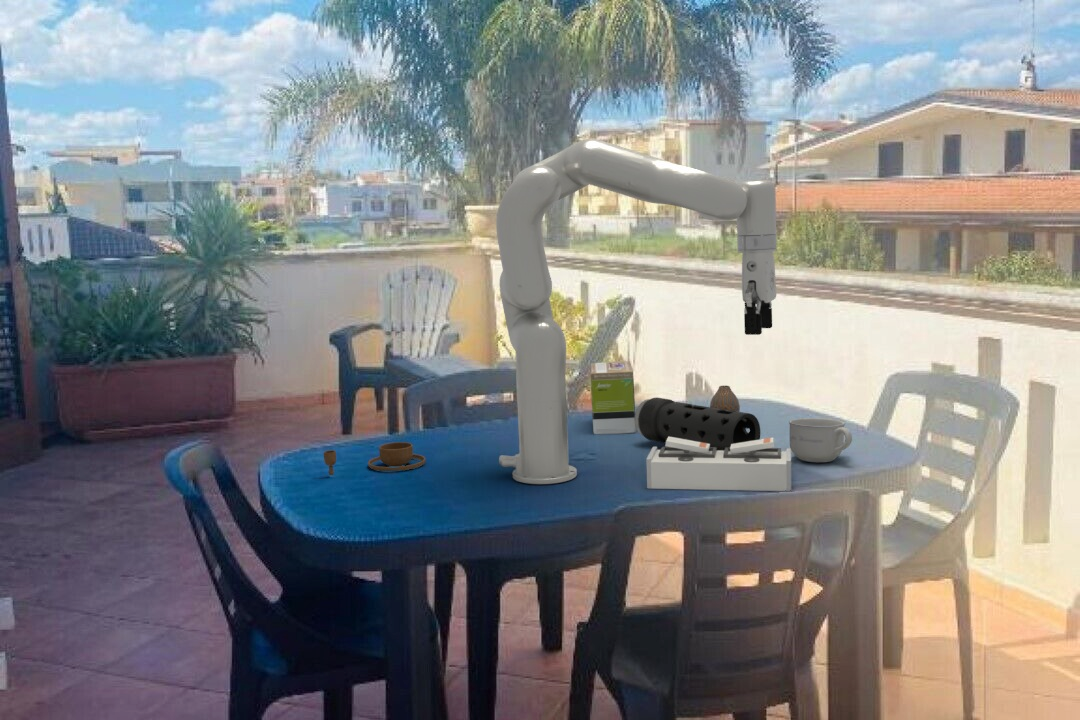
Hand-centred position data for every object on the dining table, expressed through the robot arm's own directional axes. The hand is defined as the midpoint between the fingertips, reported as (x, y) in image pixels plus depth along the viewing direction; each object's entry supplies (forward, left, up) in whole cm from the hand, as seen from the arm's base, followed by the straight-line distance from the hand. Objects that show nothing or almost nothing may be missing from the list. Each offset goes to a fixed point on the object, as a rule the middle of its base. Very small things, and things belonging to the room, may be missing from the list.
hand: (758, 331), depth 213 cm
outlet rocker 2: (-1, -16, -21) cm, 26 cm away
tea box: (-35, +31, -27) cm, 53 cm away
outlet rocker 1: (-13, -16, -21) cm, 29 cm away
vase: (-9, +37, -27) cm, 46 cm away
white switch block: (-7, -18, -26) cm, 32 cm away
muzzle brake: (-14, +7, -27) cm, 31 cm away
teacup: (+12, 0, -27) cm, 29 cm away
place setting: (-78, -10, -27) cm, 83 cm away
